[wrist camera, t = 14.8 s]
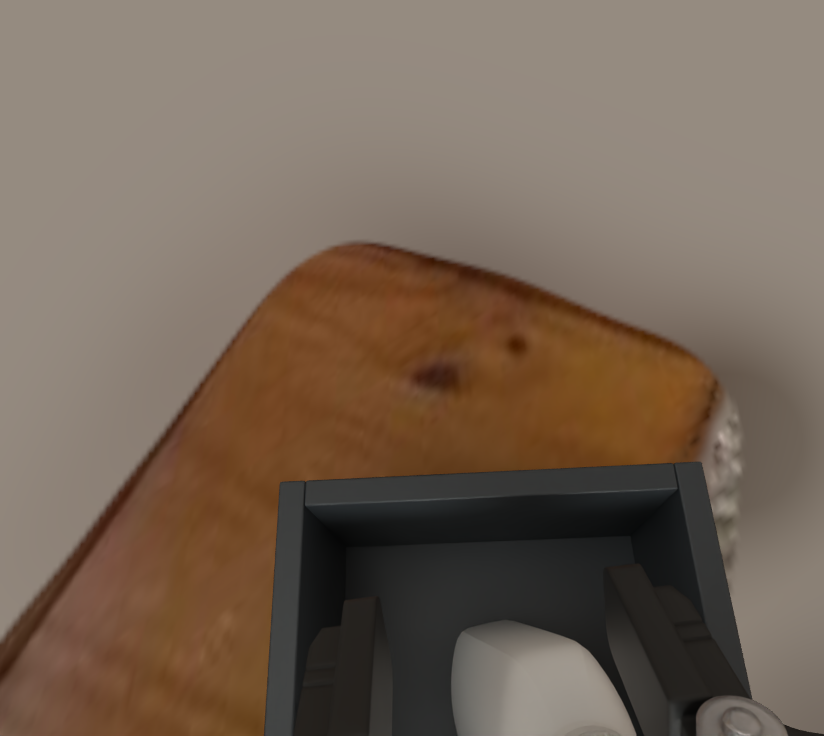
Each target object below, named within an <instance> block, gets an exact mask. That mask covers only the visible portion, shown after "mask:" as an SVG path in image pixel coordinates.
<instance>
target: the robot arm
mask: <svg viewBox="0 0 824 736" xmlns="http://www.w3.org/2000/svg"><path fill="white" fill-rule="evenodd" d="M603 582H604V600H605V617H606V630H607V636H608V641H609V645H610V649H611V653H612V656H613V658H614V661H615V664H616V666H617V669H618V671H619V674H620V676H621V679H622V681H623V684H624V686H625V689H626V691H627V694H628V696H629V699H630V701H631V704H632V706H633V709H634V711H635V714H636V716H637V719H638V721H639V724H640V727H641V729H642V732H643V734H644V736H824V734H818V733H812V732H806V731H802V730H798V729H795V728H791V727H789V726H786V725H784V724H783V723H782V722H781V720H780V719H779V718H778V717H777V716H776V715H775V714H774V713H773V712H772V711H770V710H769V709H768V708H767V707H765V706H763V705H762V704H760V703H758V702H756V701H754V700H751V698H750V697H749V695H748V694H747V692H746V690H745V689H744V687H743V685H742V684H741V682H740V680H739V679H738V677H737V676H736V674H735V672H734V671H733V669H732V667H731V666H730V664H729V662H728V661H727V659H726V658H725V656H724V654H723V653H722V651H721V649H720V648H719V646H718V644H717V643H716V641H715V639H713V638H712V635H711V633H710V631H709V630H708V628H707V626H706V625H705V623H703V621H702V618H701V617H700V615H699V613H698V612H697V610H696V608H695V607H694V605H693V603H692V602H691V600H690V599H688V598H687V597H686V596H684V595H683V594H682V593H680V592H679V591H678V590H677V589H675V588H674V587H673V586H671V585H665V586H657V587H653V586H652V584H651V582H650V580H649V578H648V576H647V575H646V573H645V571H644V569H643V567H642V566H641V565H640V564H639V563H637V564H629V565H621V566H613V567H605V568H604V570H603ZM392 698H393V675H392V663H391V655H390V649H389V644H388V639H387V634H386V629H385V623H384V618H383V613H382V608H381V603H380V599H379V597H378V596H373V597H365V598H357V599H349V600H345V601H344V604H343V611H342V619H341V626H334V627H326V628H322V629H321V630H320V632H319V633H318V635H317V636H316V638H315V639H314V641H313V642H312V644H311V645H310V647H309V651H308V657H307V662H306V671H305V673H304V679H303V688H302V690H301V695H300V701H299V706H298V712H297V717H296V722H295V728H294V733H293V736H392Z"/></svg>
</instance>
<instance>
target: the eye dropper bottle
mask: <svg viewBox="0 0 824 736" xmlns="http://www.w3.org/2000/svg"><path fill="white" fill-rule="evenodd" d="M451 697H452V709H453V716H454V721H455V726H456V731H457V735H458V736H637V735H636V732H635V729H634V727H633V724H632V722H631V719H630V717H629V715H628V712H627V710H626V708H625V706H624V704H623V702H622V700H621V698H620V696H619V695H618V693H617V691H616V689H615V687H614V686H613V684H612V682H611V681H610V679H609V678H608V676H607V675H606V673H605V672H604V670H603V669H602V668H601V666H600V665H599V663H598V662H597V660H596V659H595V658H594V657H593V656H592V654H591V653H590V652H589V651H588V650H587V649H585V648H584V647H583V646H581V645H580V644H579V643H577V642H576V641H574V640H571V639H569V638H566V637H564V636H561V635H558V634H555V633H552V632H548V631H545V630H542V629H539V628H536V627H532V626H529V625H526V624H523V623H519V622H516V621H510V620H501V621H495V622H491V623H486V624H481V625H477V626H473V627H469V628H467V629H466V630H464V631H462V632H461V634H460V636H459V637H458V639H457V642H456V646H455V650H454V656H453V663H452V674H451Z"/></svg>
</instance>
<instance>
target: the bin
mask: <svg viewBox="0 0 824 736" xmlns="http://www.w3.org/2000/svg"><path fill="white" fill-rule="evenodd" d="M637 563H639V564H640V565H641V566H642V567H643V569H644V571H645V573H646V575H647V576H648V578H649V580H650V582H651V584H652V586H653V587H657V586H665V585H671V586H673V587H674V588H675V589H677V590H678V591H679V592H680V593H682V594H683V595H684V596H686V597H687V598H688V599H690V600H691V602H692V603H693V605H694V607H695V608H696V610H697V612H698V613H699V615H700V617H701V618H702V621H703V623H705V625H706V626H707V628H708V630H709V631H710V633H711V635H712V638H713V639H715V641H716V643H717V644H718V646H719V648H720V649H721V651H722V653H723V654H724V656H725V658H726V659H727V661H728V662H729V664H730V666H731V667H732V669H733V671H734V672H735V674H736V676H737V677H738V679H739V680H740V682H741V684H742V685H743V687H744V689H745V690H746V692H747V694H748V695H749V697H750V698H751V700H752V696H751V691H750V686H749V682H748V677H747V672H746V668H745V663H744V658H743V653H742V649H741V644H740V639H739V635H738V630H737V625H736V621H735V616H734V611H733V607H732V602H731V597H730V593H729V588H728V583H727V579H726V574H725V569H724V565H723V560H722V555H721V551H720V546H719V541H718V537H717V532H716V527H715V523H714V518H713V513H712V509H711V504H710V499H709V495H708V490H707V485H706V481H705V476H704V471H703V467H702V463H701V462H683V463H674V464H672V463H663V464H642V465H622V466H601V467H580V468H560V469H539V470H518V471H497V472H477V473H456V474H435V475H414V476H394V477H373V478H352V479H332V480H311V481H306V482H305V481H289V482H280V490H279V506H278V522H277V538H276V553H275V569H274V585H273V601H272V617H271V633H270V649H269V665H268V681H267V697H266V713H265V729H264V736H293V733H294V728H295V722H296V717H297V712H298V706H299V701H300V695H301V690H302V688H303V679H304V673H305V671H306V662H307V657H308V651H309V647H310V645H311V644H312V642H313V641H314V639H315V638H316V636H317V635H318V633H319V632H320V630H321V629H322V628H326V627H334V626H341V619H342V611H343V604H344V601H345V600H349V599H357V598H365V597H373V596H378V597H379V599H380V603H381V608H382V613H383V618H384V623H385V629H386V634H387V639H388V644H389V649H390V655H391V663H392V675H393V698H392V736H458V735H457V731H456V726H455V721H454V716H453V709H452V697H451V674H452V663H453V656H454V650H455V646H456V642H457V639H458V637H459V636H460V634H461V632H462V631H464V630H466V629H467V628H469V627H473V626H477V625H481V624H486V623H491V622H495V621H501V620H510V621H516V622H519V623H523V624H526V625H529V626H532V627H536V628H539V629H542V630H545V631H548V632H552V633H555V634H558V635H561V636H564V637H566V638H569V639H571V640H574V641H576V642H577V643H579V644H580V645H581V646H583V647H584V648H585V649H587V650H588V651H589V652H590V653H591V654H592V656H593V657H594V658H595V659H596V660H597V662H598V663H599V665H600V666H601V668H602V669H603V670H604V672H605V673H606V675H607V676H608V678H609V679H610V681H611V682H612V684H613V686H614V687H615V689H616V691H617V693H618V695H619V696H620V698H621V700H622V702H623V704H624V706H625V708H626V710H627V712H628V715H629V717H630V719H631V722H632V724H633V727H634V729H635V732H636V735H637V736H644V734H643V732H642V729H641V727H640V724H639V721H638V719H637V716H636V714H635V711H634V709H633V706H632V704H631V701H630V699H629V696H628V694H627V691H626V689H625V686H624V684H623V681H622V679H621V676H620V674H619V671H618V669H617V666H616V664H615V661H614V658H613V656H612V653H611V649H610V645H609V641H608V636H607V630H606V617H605V600H604V582H603V570H604V568H605V567H613V566H621V565H629V564H637Z"/></svg>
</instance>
